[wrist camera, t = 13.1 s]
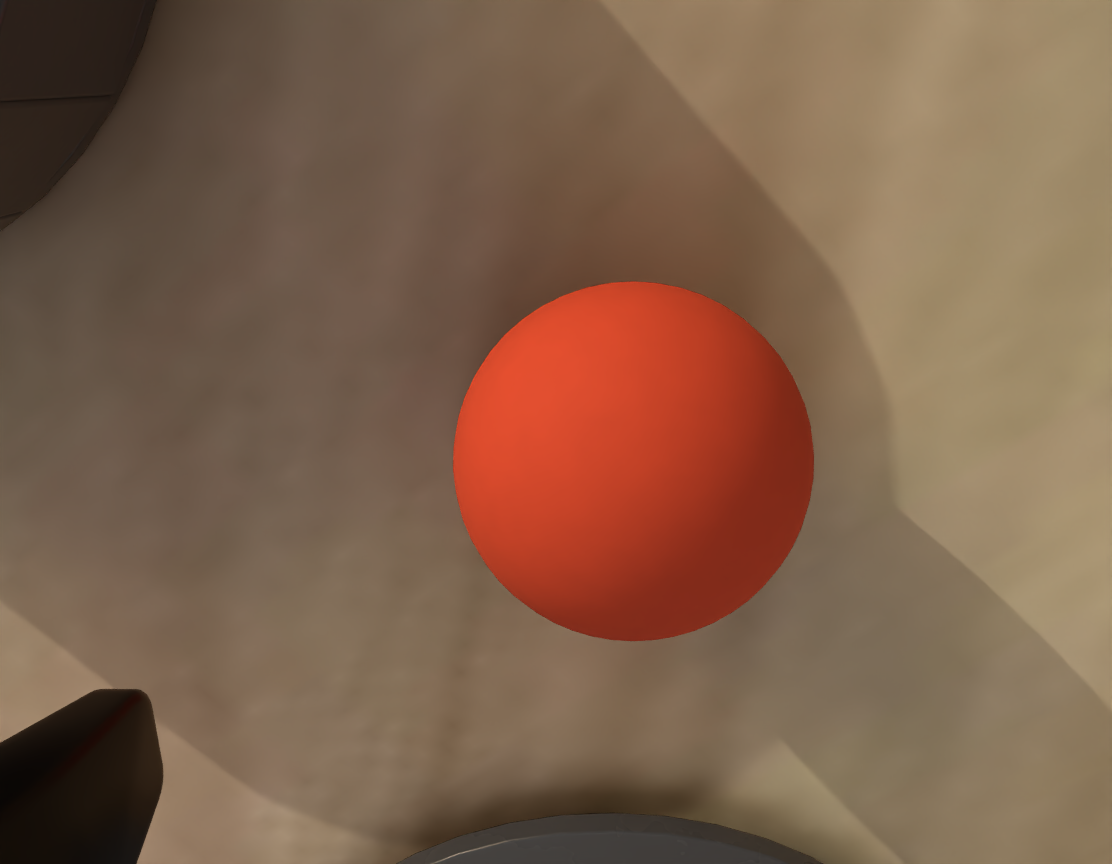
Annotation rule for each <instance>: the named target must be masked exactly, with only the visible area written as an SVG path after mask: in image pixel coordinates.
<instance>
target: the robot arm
mask: <svg viewBox="0 0 1112 864" xmlns="http://www.w3.org/2000/svg"><path fill="white" fill-rule="evenodd" d="M162 784H163V763H162V758H161V752H160V747H159V741H158V736H157V731H156V725H155V720H154V714H153V709H152V705H151V702H150V699H149V697H148V695H147V694H146V693H144V692H143V691H141V690H139V689H99V690H94V691H92V692H90V693H88V694H87V695H85V696H83V697H81V698H80V699H78V700H76V701H74V702H72V703H71V704H69V705H67V706H65V707H63V708H62V709H60V710H58V711H56V712H54V713H53V714H51V715H49V716H47V717H46V718H44V719H42V720H40V721H38V722H37V723H35V724H33V725H31V726H29V727H28V728H26V729H24V730H22V731H21V732H19V733H17V734H15V735H13V736H12V737H10V738H8V739H6V740H4V741H3V742H1V743H0V864H137V861H138V858H139V855H140V852H141V849H142V846H143V843H144V841H145V838H146V835H147V832H148V829H149V826H150V823H151V821H152V818H153V815H154V812H155V809H156V806H157V803H158V801H159V797H160V794H161V790H162Z"/></svg>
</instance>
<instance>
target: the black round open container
mask: <svg viewBox="0 0 1112 864" xmlns="http://www.w3.org/2000/svg"><path fill="white" fill-rule="evenodd" d="M155 3H156V0H0V231H1V230H3V229H4V228H5V227H6V226H8V225H9V224H10V223H11V222H13V221H14V220H15V219H16V218H18V217H19V216H20V215H21V214H23V213H24V212H25V211H26V210H28V209H29V208H30V207H31V206H33V205H34V204H35V203H36V202H38V201H39V200H40V199H41V198H43V197H44V196H45V195H46V193H47V192H48V191H49V190H50V189H51V188H52V187H53V186H54V185H55V184H56V182H57V181H58V180H59V179H60V178H61V177H62V176H63V175H64V174H65V173H66V171H67V170H68V169H69V168H70V167H71V166H72V165H73V164H74V163H75V162H76V160H77V159H78V158H79V157H80V156H81V155H82V154H83V152H84V151H85V149H86V148H87V146H88V145H89V143H90V142H91V140H92V139H93V137H94V136H95V134H96V133H97V131H98V129H99V128H100V126H101V125H102V123H103V122H104V120H105V119H106V117H107V116H108V114H109V113H110V111H111V110H112V108H113V107H114V105H115V104H116V101H117V99H118V97H119V95H120V93H121V91H122V89H123V86H124V84H125V82H126V80H127V78H128V76H129V74H130V71H131V69H132V67H133V65H134V63H135V61H136V59H137V56H138V54H139V52H140V50H141V48H142V45H143V42H144V39H145V35H146V32H147V29H148V26H149V22H150V19H151V16H152V13H153V9H154V6H155Z"/></svg>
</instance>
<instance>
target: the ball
mask: <svg viewBox="0 0 1112 864" xmlns="http://www.w3.org/2000/svg"><path fill="white" fill-rule="evenodd" d="M453 472H454V480H455V488H456V494H457V499H458V503H459V507H460V510H461V514H462V518H463V521H464V523H465V526H466V528H467V531H468V533H469V535H470V538H471V540H472V542H473V543H474V545H475V547H476V548H477V550H478V552H479V553H480V555H481V557H482V559H483V560H484V562H485V563H486V565H487V566H488V568H489V569H490V570H491V571H492V573H493V574H494V575H495V577H496V578H497V579H498V580H499V582H500V583H502V584H503V585H504V586H505V587H506V588H507V589H508V590H509V591H510V592H511V593H512V594H513V595H514V596H515V597H516V598H518V599H519V600H520V601H522V602H523V603H524V604H526V605H527V606H528V607H530V608H531V609H532V610H534V611H535V612H536V613H538V614H540V615H542V616H543V617H545V618H547V619H548V620H550V621H552V622H554V623H556V624H558V625H561V626H563V627H565V628H568V629H570V630H572V631H576V632H579V633H582V634H586V635H589V636H593V637H599V638H604V639H610V640H622V641H645V640H657V639H663V638H669V637H674V636H678V635H681V634H685V633H688V632H692V631H695V630H697V629H700V628H702V627H705V626H707V625H710V624H712V623H714V622H716V621H718V620H719V619H721V618H723V617H725V616H727V615H728V614H730V613H732V612H733V611H735V610H736V609H737V608H739V607H740V606H742V605H743V604H744V603H746V602H747V601H748V600H749V599H750V598H752V597H753V596H754V595H755V594H756V593H757V592H758V591H759V590H760V589H761V588H762V587H763V586H764V585H765V584H766V583H767V582H768V580H769V579H770V578H771V577H772V576H773V574H774V573H775V572H776V571H777V570H778V568H779V567H780V566H781V564H782V563H783V561H784V560H785V558H786V557H787V555H788V553H789V552H790V550H791V549H792V547H793V545H794V543H795V541H796V538H797V536H798V534H799V532H800V530H801V527H802V524H803V521H804V518H805V514H806V511H807V508H808V505H809V501H810V496H811V490H812V484H813V472H814V452H813V442H812V434H811V426H810V422H809V418H808V415H807V411H806V407H805V404H804V402H803V399H802V397H801V395H800V392H799V390H798V388H797V386H796V383H795V381H794V379H793V377H792V375H791V373H790V372H789V370H788V368H787V367H786V365H785V363H784V362H783V360H782V359H781V357H780V356H779V354H778V353H777V352H776V351H775V350H774V348H773V347H772V346H771V345H770V344H769V342H768V341H767V340H766V339H765V338H764V337H763V336H762V335H761V334H760V333H759V332H758V331H756V330H755V329H754V328H753V327H752V326H751V325H750V324H749V323H747V322H746V321H745V320H744V319H743V318H742V317H740V316H739V315H737V314H736V313H734V312H733V311H731V310H730V309H728V308H727V307H725V306H724V305H722V304H720V303H718V302H716V301H714V300H712V299H710V298H708V297H706V296H704V295H701V294H698V293H695V292H692V291H689V290H686V289H683V288H680V287H675V286H669V285H664V284H659V283H649V282H632V281H631V282H617V283H607V284H602V285H597V286H592V287H587V288H584V289H581V290H578V291H575V292H572V293H569V294H566V295H564V296H562V297H560V298H557V299H555V300H553V301H551V302H549V303H547V304H545V305H543V306H541V307H540V308H538V309H537V310H535V311H534V312H532V313H531V314H529V315H528V316H526V317H525V318H523V319H522V320H521V321H520V322H519V323H518V324H516V325H515V326H514V327H513V328H512V329H511V330H510V331H508V332H507V333H506V334H505V335H504V336H503V337H502V339H501V340H500V341H499V342H498V343H497V344H496V345H495V347H494V348H493V349H492V350H491V351H490V353H489V354H488V356H487V357H486V359H485V360H484V362H483V363H482V365H481V366H480V368H479V369H478V371H477V373H476V375H475V376H474V378H473V381H472V383H471V385H470V387H469V389H468V391H467V393H466V395H465V398H464V401H463V404H462V408H461V411H460V414H459V417H458V423H457V429H456V435H455V442H454V456H453Z"/></svg>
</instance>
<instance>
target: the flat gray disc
mask: <svg viewBox="0 0 1112 864" xmlns="http://www.w3.org/2000/svg"><path fill="white" fill-rule="evenodd" d="M397 864H823V863H821V862H819V861H818V860H816V859H814V858H812V857H810V856H808V855H805V854H803V853H801V852H798V851H796V850H793V849H791V848H788V847H786V846H783V845H781V844H779V843H776V842H774V841H771V840H769V839H766V838H763V837H759V836H756V835H752V834H749V833H745V832H742V831H738V830H735V829H731V828H727V827H724V826H720V825H716V824H711V823H705V822H699V821H693V820H687V819H681V818H675V817H669V816H657V815H640V814H624V813H599V814H576V815H559V816H552V817H545V818H539V819H532V820H526V821H519V822H512V823H507V824H503V825H500V826H496V827H492V828H488V829H485V830H481V831H477V832H473V833H469V834H466V835H462V836H459V837H456V838H454V839H451V840H449V841H446V842H443V843H441V844H438V845H436V846H433V847H431V848H428V849H426V850H423V851H420V852H418V853H415V854H414V855H412V856H410V857H408V858H406V859H404V860H402V861H400V862H399V863H397Z"/></svg>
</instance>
